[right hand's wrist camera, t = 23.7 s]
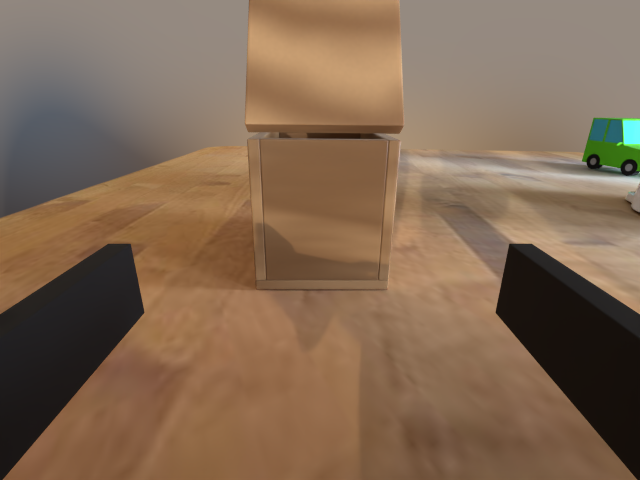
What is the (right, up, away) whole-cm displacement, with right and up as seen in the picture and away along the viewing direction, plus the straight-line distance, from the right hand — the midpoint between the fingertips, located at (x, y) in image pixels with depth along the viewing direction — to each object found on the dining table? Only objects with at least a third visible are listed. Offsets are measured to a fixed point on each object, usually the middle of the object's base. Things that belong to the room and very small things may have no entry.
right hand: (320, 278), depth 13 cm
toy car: (+61, +15, +59) cm, 86 cm away
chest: (0, 0, +19) cm, 19 cm away
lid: (0, +15, +11) cm, 19 cm away
